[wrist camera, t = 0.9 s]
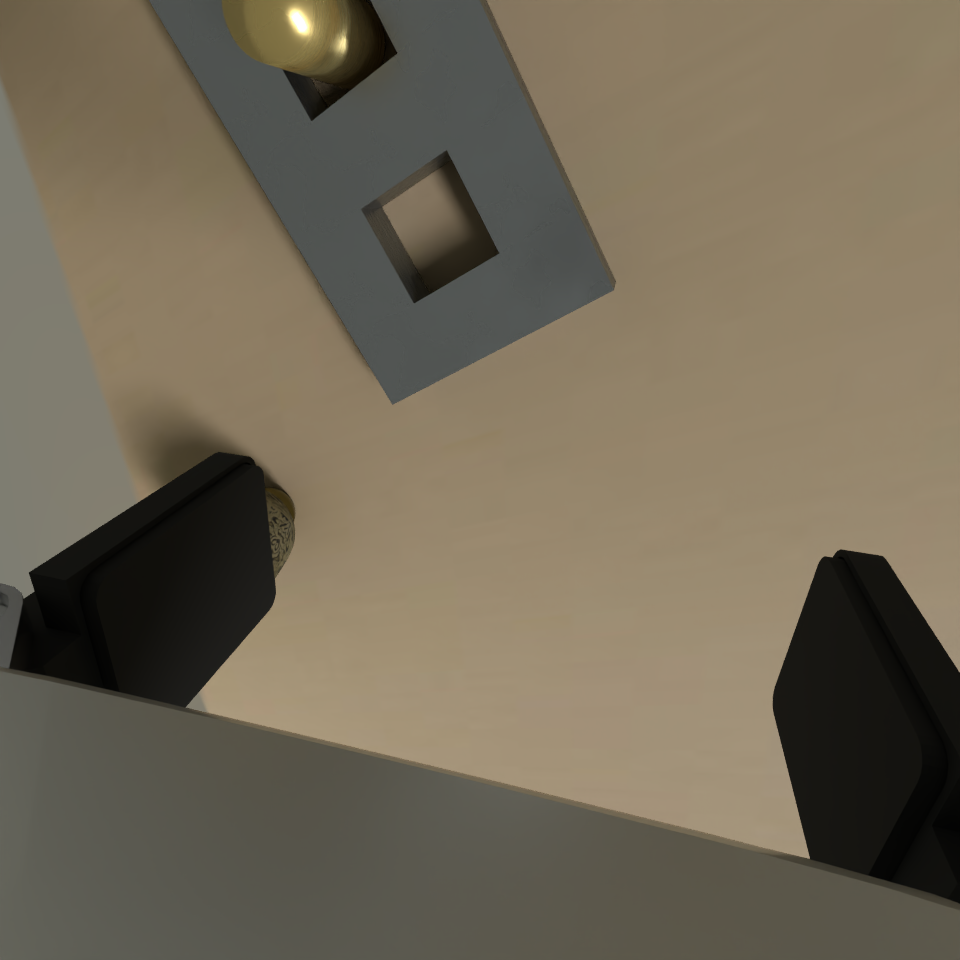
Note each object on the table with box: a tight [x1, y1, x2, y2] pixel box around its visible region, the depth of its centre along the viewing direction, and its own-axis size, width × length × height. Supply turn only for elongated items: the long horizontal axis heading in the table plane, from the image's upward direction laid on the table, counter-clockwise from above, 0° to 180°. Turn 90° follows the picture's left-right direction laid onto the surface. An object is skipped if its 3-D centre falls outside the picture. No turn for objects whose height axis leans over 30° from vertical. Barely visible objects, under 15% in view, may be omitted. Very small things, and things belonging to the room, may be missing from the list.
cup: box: [265, 487, 295, 578], centre depth 42 cm, size 8×7×8 cm
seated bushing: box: [222, 0, 385, 89], centre depth 29 cm, size 4×4×8 cm
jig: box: [149, 0, 616, 405], centre depth 32 cm, size 14×24×3 cm, turn 30°
